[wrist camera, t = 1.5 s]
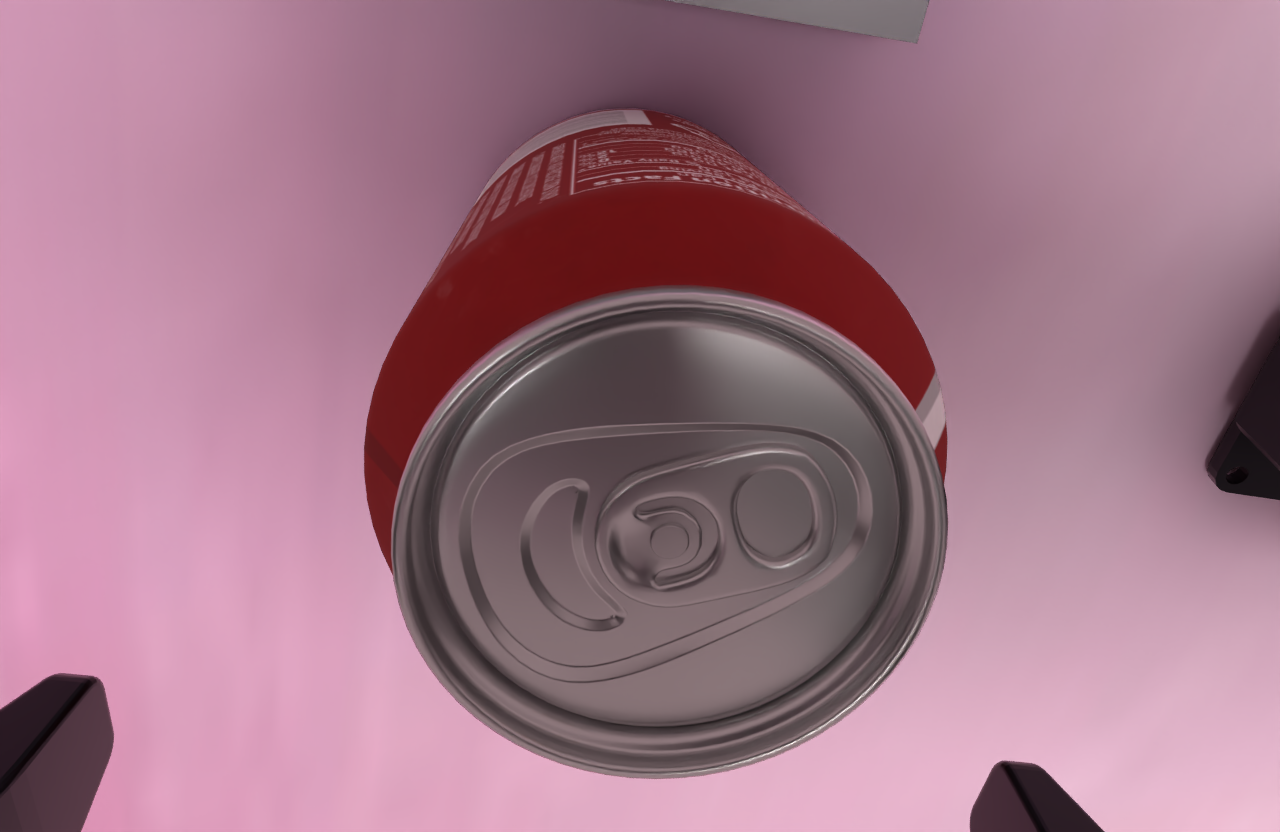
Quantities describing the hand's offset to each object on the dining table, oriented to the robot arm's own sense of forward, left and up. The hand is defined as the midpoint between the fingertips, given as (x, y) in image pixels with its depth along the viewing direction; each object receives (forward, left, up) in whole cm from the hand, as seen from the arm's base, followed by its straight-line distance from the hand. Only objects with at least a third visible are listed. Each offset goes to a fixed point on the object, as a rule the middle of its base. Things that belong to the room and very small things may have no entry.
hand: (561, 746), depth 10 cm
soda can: (0, 0, -13) cm, 13 cm away
